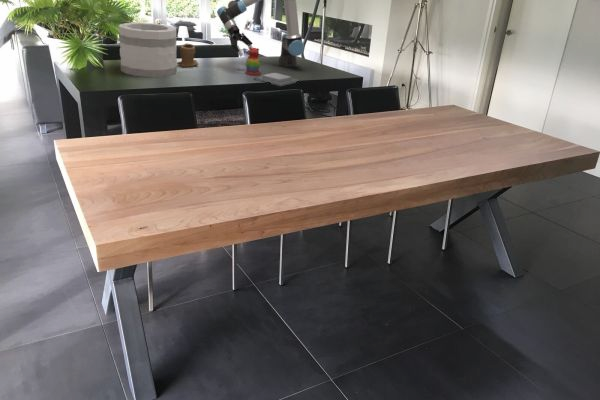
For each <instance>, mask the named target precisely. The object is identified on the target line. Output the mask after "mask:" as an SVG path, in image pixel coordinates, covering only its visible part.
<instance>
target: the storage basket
mask: <svg viewBox="0 0 600 400" xmlns="http://www.w3.org/2000/svg"><path fill="white" fill-rule="evenodd" d="M118 30H119V31H118V32H119V33H118V42H119V45H120V46H119V47H120V48H119V56H120V71H121V72H122V73H124V74H126V75H129V76H130V75H131V76H135V77H144V78H165V77H171V76H175V75H176V74H177V70H178V66H177V65H178V64H177V63H178V60H177V53H178V52H177V29H176V27H174V26H170V25H166V24H159V23H151V22H147V23H146V22H125V23H120V24H118Z"/></svg>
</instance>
